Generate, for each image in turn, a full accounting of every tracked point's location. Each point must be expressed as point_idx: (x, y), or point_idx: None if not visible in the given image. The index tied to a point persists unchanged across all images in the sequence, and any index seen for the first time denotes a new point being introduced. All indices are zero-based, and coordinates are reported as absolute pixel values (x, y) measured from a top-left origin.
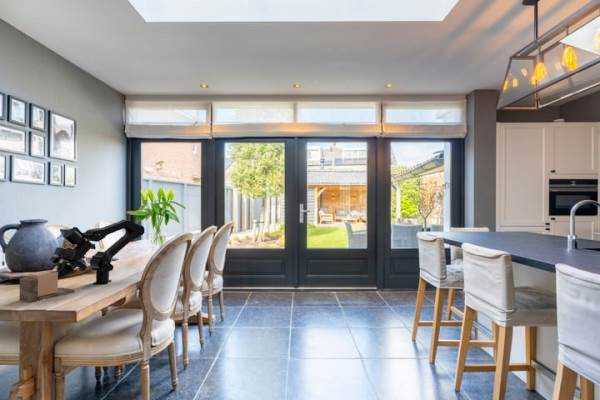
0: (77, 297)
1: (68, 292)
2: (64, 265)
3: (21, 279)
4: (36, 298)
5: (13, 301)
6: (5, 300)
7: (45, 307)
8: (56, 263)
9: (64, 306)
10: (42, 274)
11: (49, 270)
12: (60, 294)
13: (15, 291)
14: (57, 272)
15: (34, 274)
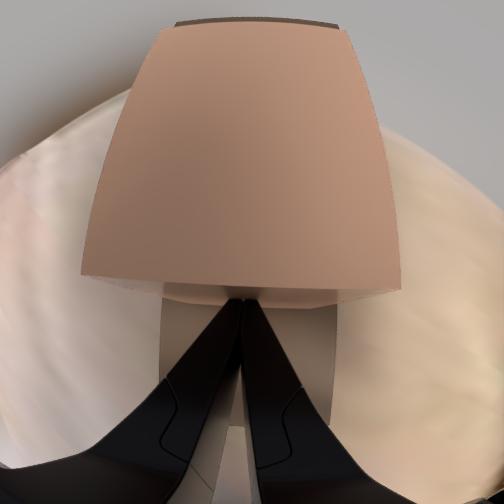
0: (50, 317)
1: (161, 369)
2: (31, 470)
3: (310, 24)
4: None
5: None
6: None
7: (70, 141)
8: (477, 499)
9: (18, 190)
10: (153, 60)
11: (386, 280)
12: (164, 308)
13: (495, 240)
14: (86, 267)
15: (255, 28)
